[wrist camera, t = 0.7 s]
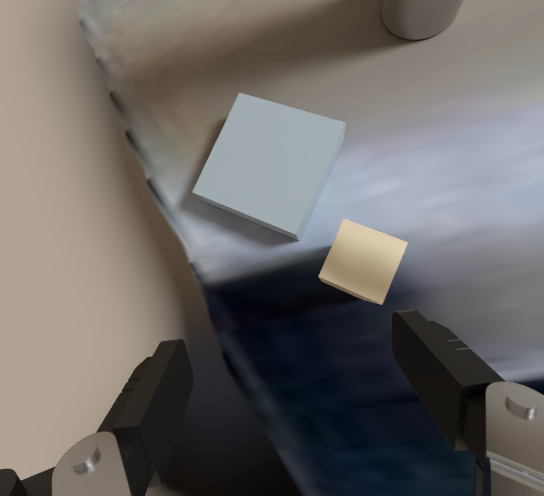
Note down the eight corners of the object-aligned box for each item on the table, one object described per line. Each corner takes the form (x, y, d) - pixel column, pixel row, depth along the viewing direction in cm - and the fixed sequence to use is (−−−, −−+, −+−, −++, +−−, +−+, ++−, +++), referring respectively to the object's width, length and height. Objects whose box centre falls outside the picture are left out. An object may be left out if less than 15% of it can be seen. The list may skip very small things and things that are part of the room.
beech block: (338, 243, 33) (343, 218, 22) (379, 260, 32) (407, 242, 20) (321, 281, 33) (318, 276, 21) (362, 299, 32) (381, 304, 20)
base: (248, 112, 38) (239, 92, 34) (343, 141, 35) (345, 122, 31) (206, 202, 38) (192, 192, 34) (299, 240, 34) (295, 234, 30)
